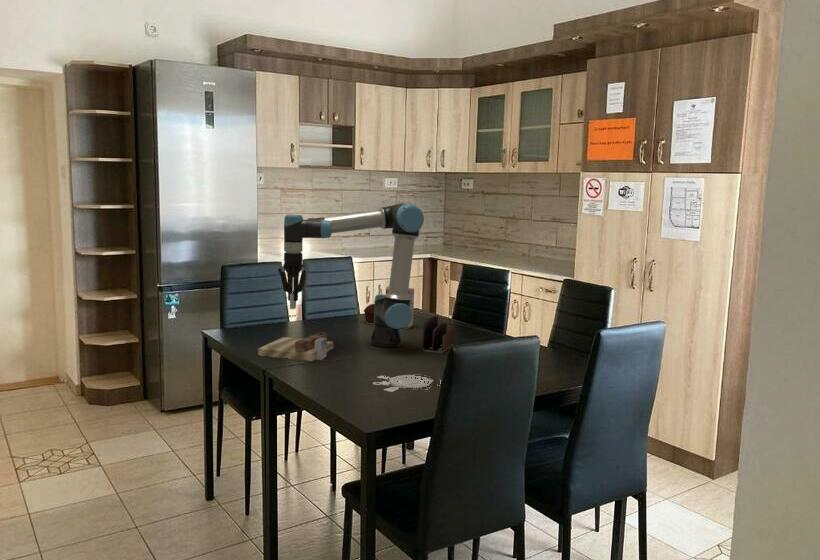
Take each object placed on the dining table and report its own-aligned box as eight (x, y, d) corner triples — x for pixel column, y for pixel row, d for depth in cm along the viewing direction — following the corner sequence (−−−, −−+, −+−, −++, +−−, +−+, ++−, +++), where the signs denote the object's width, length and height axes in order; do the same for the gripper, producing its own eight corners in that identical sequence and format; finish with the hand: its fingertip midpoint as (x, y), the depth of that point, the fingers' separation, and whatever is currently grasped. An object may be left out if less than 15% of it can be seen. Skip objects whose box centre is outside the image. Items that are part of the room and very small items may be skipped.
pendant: (454, 392, 238) (454, 388, 238) (377, 394, 233) (377, 390, 232) (440, 375, 259) (440, 372, 259) (368, 377, 253) (368, 373, 253)
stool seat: (333, 348, 294) (333, 341, 294) (312, 361, 271) (312, 354, 271) (283, 343, 300) (283, 337, 300) (258, 355, 277) (258, 348, 277)
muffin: (381, 325, 348) (382, 306, 347) (361, 324, 351) (361, 305, 349) (386, 321, 360) (387, 303, 359) (366, 320, 362) (367, 302, 361)
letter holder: (421, 351, 295) (422, 320, 293) (435, 343, 313) (436, 313, 312) (443, 354, 292) (444, 322, 290) (455, 345, 310) (457, 315, 308)
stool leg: (319, 341, 294) (319, 330, 293) (328, 342, 292) (328, 332, 292) (294, 351, 274) (294, 340, 274) (304, 352, 273) (304, 341, 272)
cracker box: (384, 326, 347) (385, 286, 345) (389, 324, 353) (391, 285, 350) (407, 329, 341) (409, 289, 338) (413, 327, 346) (414, 287, 344)
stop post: (326, 356, 279) (327, 338, 278) (321, 360, 274) (321, 341, 273) (319, 356, 280) (320, 337, 279) (314, 359, 274) (314, 340, 273)
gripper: (274, 252, 274) (274, 308, 277) (303, 253, 270) (303, 311, 273) (283, 250, 281) (283, 306, 284) (311, 252, 277) (311, 308, 280)
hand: (292, 308), depth 279 cm, fingers closed
